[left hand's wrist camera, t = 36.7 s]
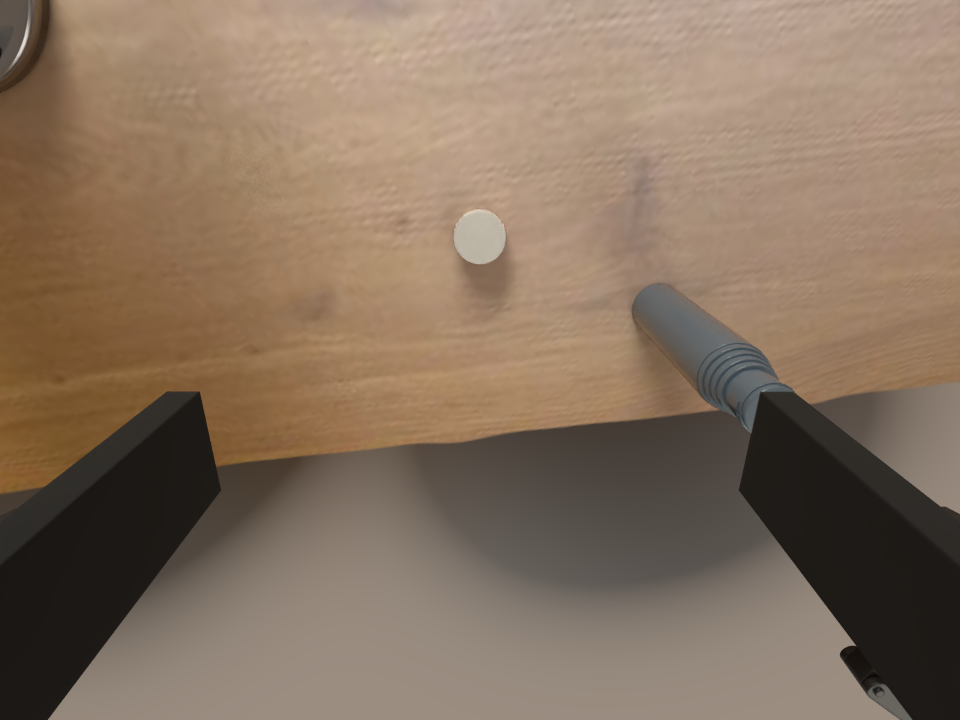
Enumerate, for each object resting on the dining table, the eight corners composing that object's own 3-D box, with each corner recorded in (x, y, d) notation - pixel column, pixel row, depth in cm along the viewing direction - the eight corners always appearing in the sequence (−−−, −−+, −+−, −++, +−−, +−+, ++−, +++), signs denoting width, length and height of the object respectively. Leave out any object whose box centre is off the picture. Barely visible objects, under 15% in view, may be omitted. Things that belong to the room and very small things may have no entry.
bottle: (628, 330, 46) (722, 446, 28) (636, 282, 44) (741, 372, 27) (677, 332, 46) (801, 450, 28) (686, 284, 45) (825, 377, 27)
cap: (515, 227, 43) (517, 230, 41) (486, 270, 44) (487, 275, 42) (472, 198, 42) (471, 200, 40) (444, 242, 43) (443, 246, 42)
